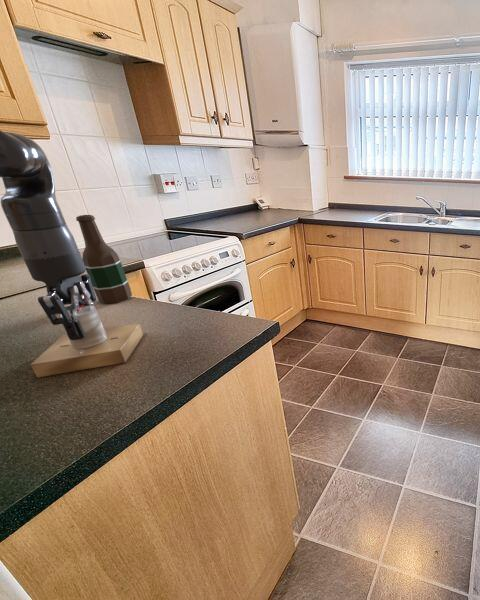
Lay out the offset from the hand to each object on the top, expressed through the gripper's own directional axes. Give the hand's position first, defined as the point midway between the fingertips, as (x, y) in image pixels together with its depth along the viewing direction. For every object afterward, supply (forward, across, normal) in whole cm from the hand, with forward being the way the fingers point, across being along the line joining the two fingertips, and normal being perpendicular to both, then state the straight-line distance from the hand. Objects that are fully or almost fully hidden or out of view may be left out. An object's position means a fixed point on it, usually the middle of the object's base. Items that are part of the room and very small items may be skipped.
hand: (85, 331), depth 69 cm
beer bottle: (+6, +34, +7) cm, 35 cm away
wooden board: (+6, 0, 0) cm, 6 cm away
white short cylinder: (+2, 0, 0) cm, 2 cm away
